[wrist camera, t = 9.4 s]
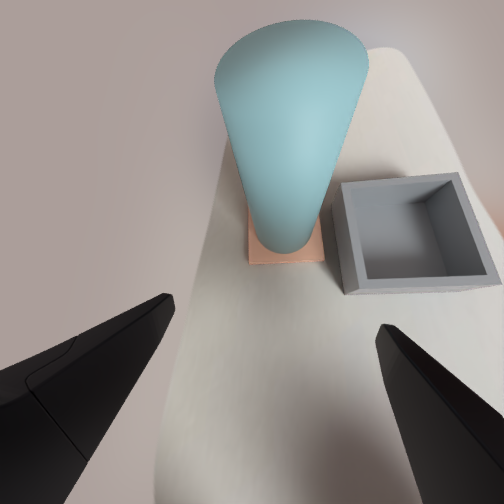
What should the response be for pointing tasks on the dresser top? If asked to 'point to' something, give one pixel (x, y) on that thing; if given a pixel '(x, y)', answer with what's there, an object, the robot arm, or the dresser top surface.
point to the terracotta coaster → (306, 254)
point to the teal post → (289, 120)
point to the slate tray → (410, 237)
